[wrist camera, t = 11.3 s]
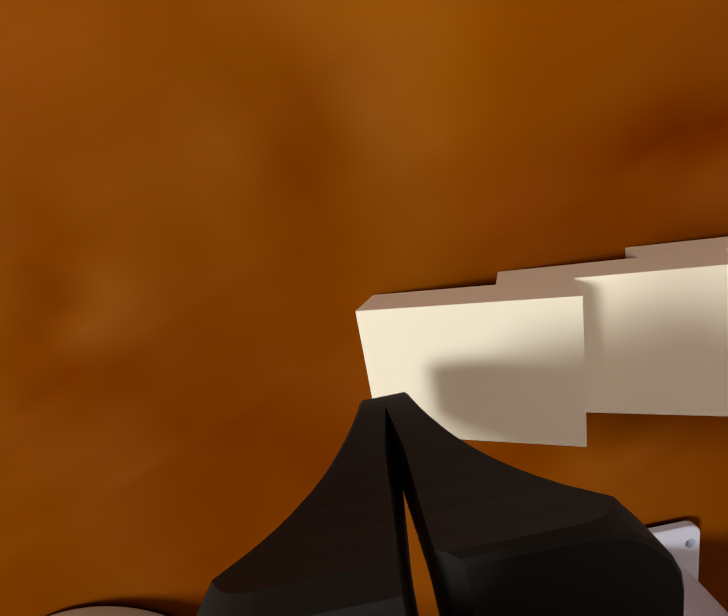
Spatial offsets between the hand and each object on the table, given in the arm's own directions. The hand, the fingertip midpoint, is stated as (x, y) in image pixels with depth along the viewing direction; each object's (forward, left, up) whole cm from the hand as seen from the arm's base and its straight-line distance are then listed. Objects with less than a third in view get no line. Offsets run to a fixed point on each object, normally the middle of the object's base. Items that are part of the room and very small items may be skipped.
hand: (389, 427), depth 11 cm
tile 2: (0, -5, -4) cm, 7 cm away
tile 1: (0, 0, -4) cm, 4 cm away
